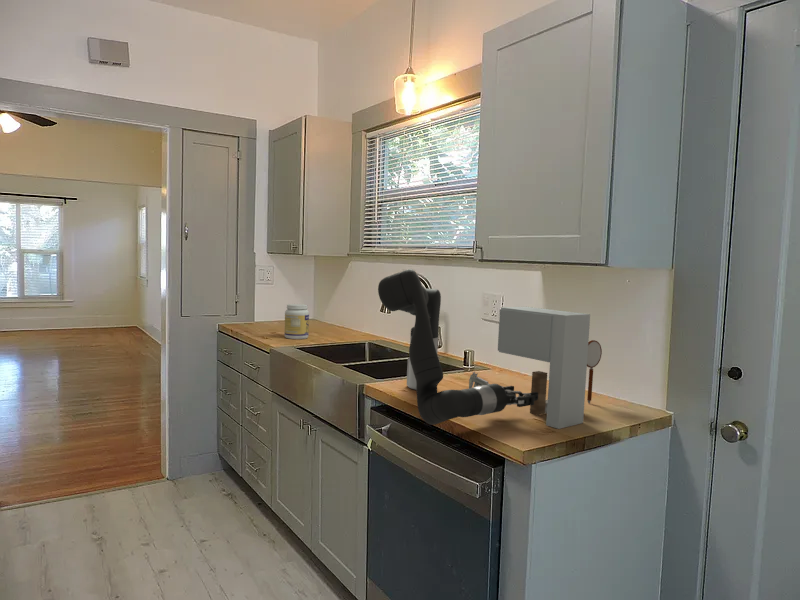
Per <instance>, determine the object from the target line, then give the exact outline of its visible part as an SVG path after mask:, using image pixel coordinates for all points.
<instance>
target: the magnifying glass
mask: <svg viewBox="0 0 800 600" xmlns="http://www.w3.org/2000/svg"><path fill="white" fill-rule="evenodd" d="M602 354H603V353H602V345H601V344H600V343H599V341H598V340H594V339H592V340H589V341H588V356H587V368H588V369H589V371H588V372H589V373H588V384H587V398H586V399H587V403H588V404H590V403H591V401H592V397H593V395H592V394H593V382H594V381H593V379H594V368H596V366H598V364H599V363H600V361H601V359H602Z"/></svg>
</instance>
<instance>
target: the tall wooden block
mask: <svg viewBox="0 0 800 600" xmlns="http://www.w3.org/2000/svg"><path fill="white" fill-rule="evenodd" d="M547 385H548V372H545V371H540V370H536V371H532V373H531V387H530V388H531V389H530V393H532V392H538V400H536V401H534V405H529V406H530V407H529V413H530V414H532V415H536V416H542V415H545V414H547V403H548V399H547V388H548V386H547Z"/></svg>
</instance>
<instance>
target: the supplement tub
mask: <svg viewBox="0 0 800 600" xmlns="http://www.w3.org/2000/svg"><path fill="white" fill-rule="evenodd" d="M308 308H309V307H308V304H303V303H290V304H289V303H288V304H286V310H285V311H284V337H285V338H286V339H289V340H290V339H291V340H305V339H308V338H309V334H310V333H309V330H310V329H309V328H310V326H309V325H310V311H309V310H308Z"/></svg>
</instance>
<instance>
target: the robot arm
mask: <svg viewBox="0 0 800 600" xmlns="http://www.w3.org/2000/svg"><path fill="white" fill-rule="evenodd" d="M377 287H378V288H377V292H378V293H377V295H378V296H379V300H380V301H381V303H382V305H383V306H384V307H385V308H386V309H387V310H388V311H390V312H397V311H402V312H405V313H408V314H410V315H413V316H415V320H414V326H413V327H411V329H410V337H409V338H410V341H409V348H408V355H409V357H407V368H406V369H407V370H406V386H407V387H408V389H412V390H415V391H416V401H417V409H418V413H419V415H420V418H421V419H422V420H423V421H424V422H425V423H426V424H428V425H432V426H433V425H438V424H440V423H443V422H446V421H449V420H453V419H455V418H456V419H457V418H468V417H474V416H484V415H490V414H495V413H500V412H502V411H503V410H505V408H506V407H507V406H512V405H516V407H518V408H523V407H529V406H530V405H534V401H536V400H538V392H532V393H531V392H527V393H526V392H522V391H520V390H515V386H514V385H508V386H507V385H506V386H503V385H500V384H498V383H489V385H482V386H476V387H474V386H472V388H469V387H468V388H463V389H446V390H440V391H438V385H439V383H441V381H442V380H443V379H444V372H443V368H442V365H441V362H440V359H439V356H438V355H439V354H438V350H439V325H440V311H441V301H442V295H441V292H440V290H439V289H437V288H425V287H424V286H423V285H422V281H421V279H420V277H419V275H418V273H417V272H416V271H415V269H412V268H409V269H405V270H402V271H400V272H397V273H393V274H391V275H389V276H386V277H384V278H382V279H380V281H379V282H378V286H377ZM517 395H518V396H517ZM516 397H517V399H516Z"/></svg>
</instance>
